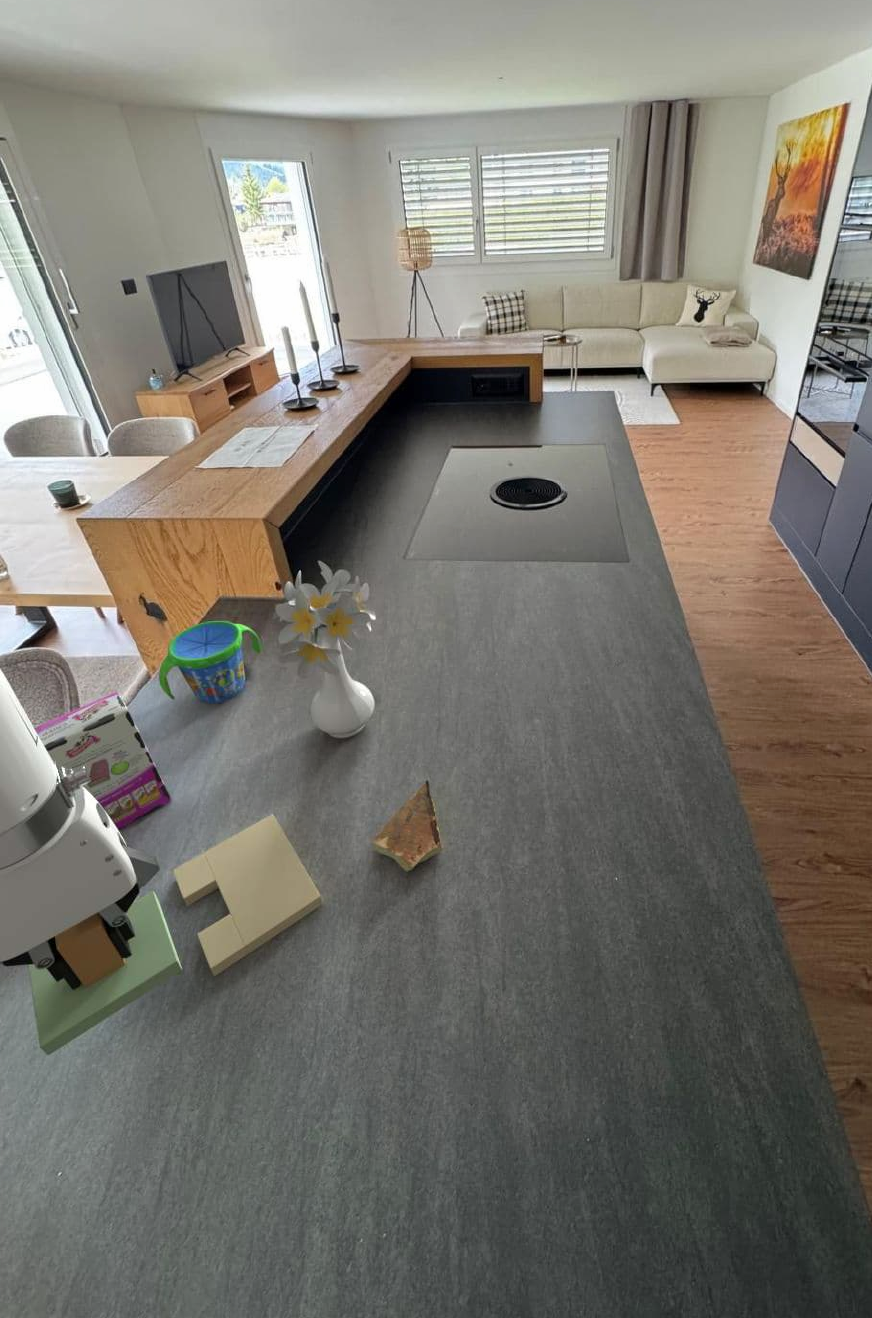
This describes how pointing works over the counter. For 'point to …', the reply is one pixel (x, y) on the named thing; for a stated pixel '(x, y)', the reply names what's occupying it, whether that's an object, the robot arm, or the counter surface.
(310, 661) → the flower vase
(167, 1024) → the counter surface
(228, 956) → the cream pad
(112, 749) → the candy bar box
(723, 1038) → the counter surface
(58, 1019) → the green pad
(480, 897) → the counter surface
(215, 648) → the snack cup
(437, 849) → the shard
